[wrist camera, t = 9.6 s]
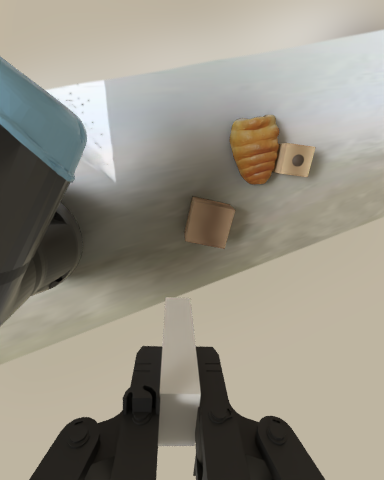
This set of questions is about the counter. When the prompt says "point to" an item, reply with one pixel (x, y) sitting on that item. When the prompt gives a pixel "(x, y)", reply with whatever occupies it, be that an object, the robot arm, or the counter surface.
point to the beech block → (294, 159)
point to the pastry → (255, 147)
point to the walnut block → (208, 222)
